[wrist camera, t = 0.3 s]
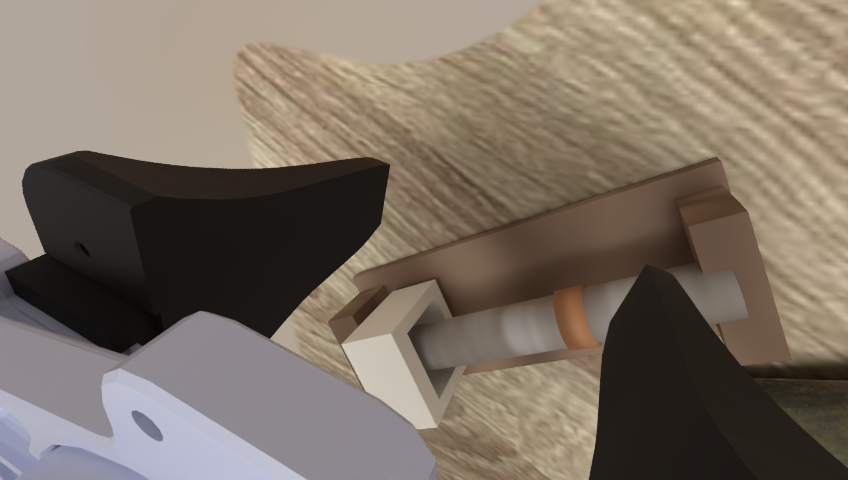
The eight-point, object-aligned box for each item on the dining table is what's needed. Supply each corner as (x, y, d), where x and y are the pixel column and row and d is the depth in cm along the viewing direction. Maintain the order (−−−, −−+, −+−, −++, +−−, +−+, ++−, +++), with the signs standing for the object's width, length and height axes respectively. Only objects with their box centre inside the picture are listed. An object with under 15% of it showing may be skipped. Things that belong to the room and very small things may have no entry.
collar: (427, 364, 27) (386, 431, 22) (392, 291, 26) (341, 344, 21) (470, 357, 25) (437, 427, 20) (434, 279, 24) (390, 333, 19)
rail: (409, 376, 29) (372, 434, 25) (358, 272, 28) (309, 313, 23) (765, 318, 20) (813, 395, 15) (716, 157, 18) (753, 187, 14)
